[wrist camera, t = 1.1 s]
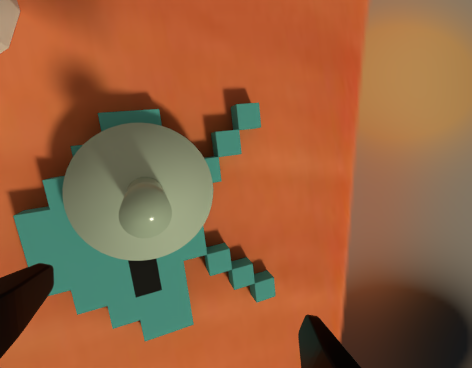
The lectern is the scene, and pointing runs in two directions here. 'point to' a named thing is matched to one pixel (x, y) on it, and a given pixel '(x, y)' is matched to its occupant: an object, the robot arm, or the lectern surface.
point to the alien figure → (136, 272)
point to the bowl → (7, 22)
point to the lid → (137, 191)
